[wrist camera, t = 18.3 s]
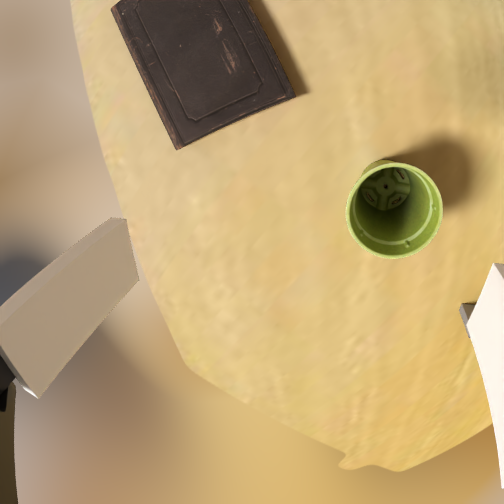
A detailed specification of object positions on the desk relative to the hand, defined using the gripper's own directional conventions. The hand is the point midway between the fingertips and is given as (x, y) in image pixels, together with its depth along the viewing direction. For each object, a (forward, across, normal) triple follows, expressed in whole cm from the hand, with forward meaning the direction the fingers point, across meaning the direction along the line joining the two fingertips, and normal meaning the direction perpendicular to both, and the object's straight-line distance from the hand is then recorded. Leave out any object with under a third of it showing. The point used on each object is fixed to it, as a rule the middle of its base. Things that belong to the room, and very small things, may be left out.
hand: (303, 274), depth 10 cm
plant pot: (+27, +7, -4) cm, 28 cm away
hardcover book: (+28, -16, +12) cm, 34 cm away
